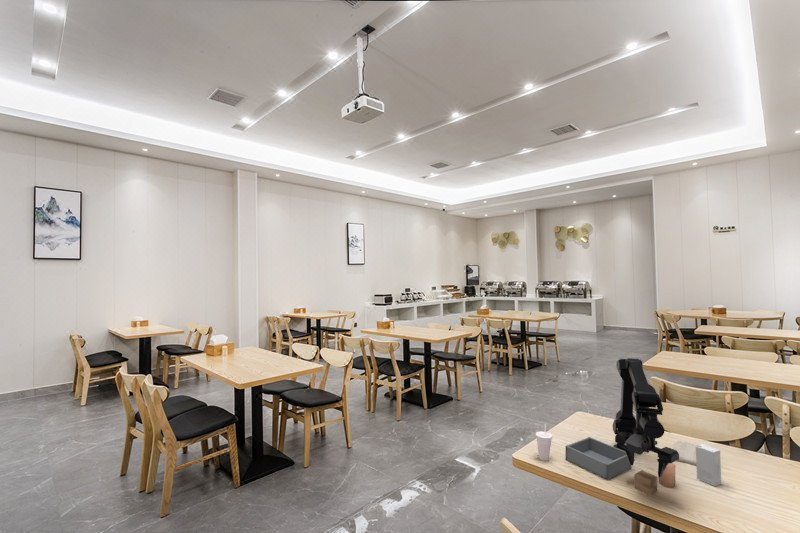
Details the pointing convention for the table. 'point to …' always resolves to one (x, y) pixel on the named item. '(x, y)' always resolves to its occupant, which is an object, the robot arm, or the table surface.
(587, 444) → the tote
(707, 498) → the table surface
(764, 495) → the table surface
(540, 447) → the smoothie
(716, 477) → the skincare box
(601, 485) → the table surface
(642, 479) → the cube
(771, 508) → the table surface
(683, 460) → the washcloth
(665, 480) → the cylinder
